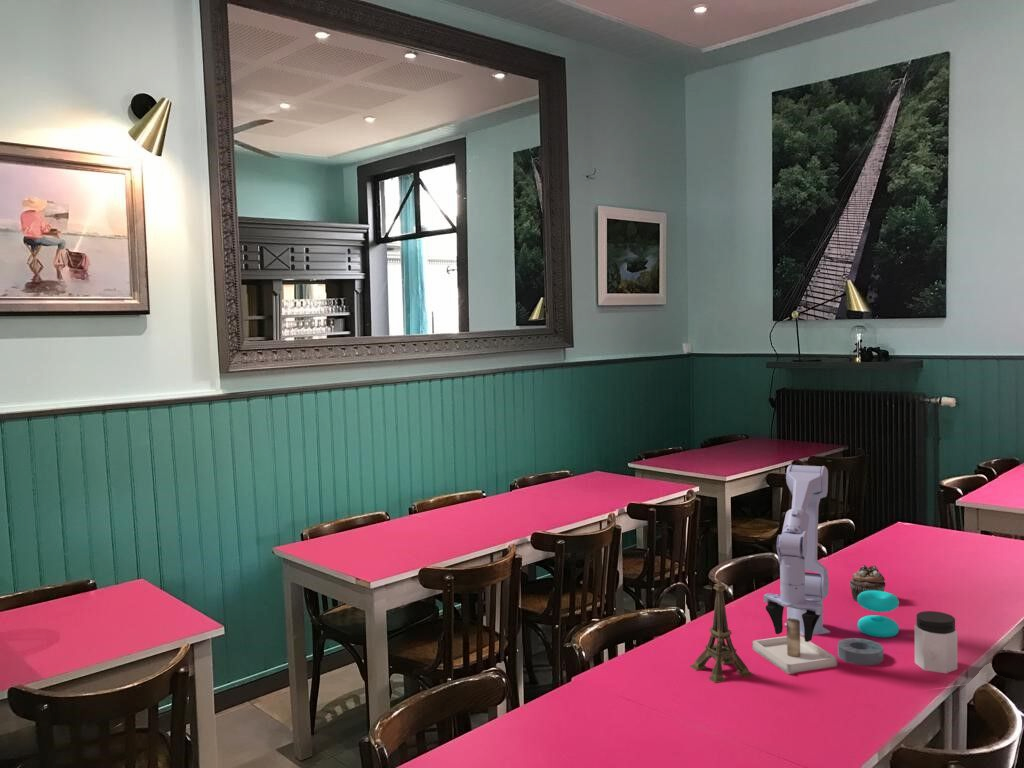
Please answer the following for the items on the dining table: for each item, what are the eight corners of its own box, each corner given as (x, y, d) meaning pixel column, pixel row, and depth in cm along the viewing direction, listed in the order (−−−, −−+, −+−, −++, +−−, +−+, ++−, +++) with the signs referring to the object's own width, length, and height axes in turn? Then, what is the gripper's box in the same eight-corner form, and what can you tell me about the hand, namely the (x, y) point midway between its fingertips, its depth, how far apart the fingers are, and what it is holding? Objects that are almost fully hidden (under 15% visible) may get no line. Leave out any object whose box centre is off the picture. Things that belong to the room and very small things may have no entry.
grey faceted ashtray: (829, 652, 206) (829, 641, 206) (864, 647, 208) (864, 636, 208) (855, 668, 196) (855, 656, 196) (892, 662, 199) (892, 650, 198)
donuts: (853, 588, 224) (893, 589, 222) (854, 624, 224) (893, 626, 222) (861, 600, 214) (903, 601, 212) (861, 638, 215) (903, 640, 212)
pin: (785, 653, 205) (784, 619, 204) (796, 651, 205) (795, 618, 205) (791, 657, 202) (790, 623, 201) (802, 656, 202) (802, 622, 202)
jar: (913, 670, 194) (913, 619, 194) (916, 657, 201) (915, 608, 201) (956, 676, 190) (956, 625, 189) (958, 663, 197) (957, 613, 196)
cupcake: (878, 594, 248) (878, 561, 248) (890, 605, 239) (889, 570, 238) (845, 594, 249) (845, 561, 249) (855, 605, 240) (855, 570, 239)
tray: (752, 649, 210) (752, 640, 210) (798, 643, 213) (798, 634, 213) (788, 674, 194) (788, 664, 194) (837, 667, 197) (837, 657, 197)
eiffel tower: (689, 666, 201) (687, 565, 199) (726, 659, 205) (724, 559, 203) (715, 683, 191) (713, 576, 189) (753, 675, 195) (751, 570, 193)
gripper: (757, 580, 205) (758, 634, 206) (813, 592, 194) (814, 648, 195) (771, 573, 210) (772, 626, 211) (827, 585, 199) (827, 640, 200)
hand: (793, 636), depth 203 cm, fingers open, 7 cm apart
